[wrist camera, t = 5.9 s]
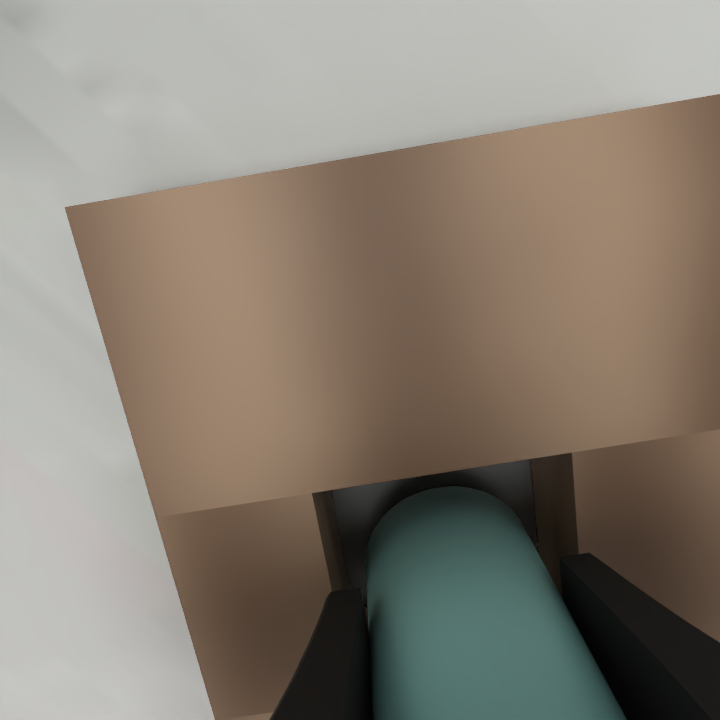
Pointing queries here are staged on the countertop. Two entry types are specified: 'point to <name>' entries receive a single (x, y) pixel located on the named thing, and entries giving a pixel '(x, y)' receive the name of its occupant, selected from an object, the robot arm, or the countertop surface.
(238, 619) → the socket board
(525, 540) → the peg
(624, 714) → the robot arm
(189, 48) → the countertop surface
